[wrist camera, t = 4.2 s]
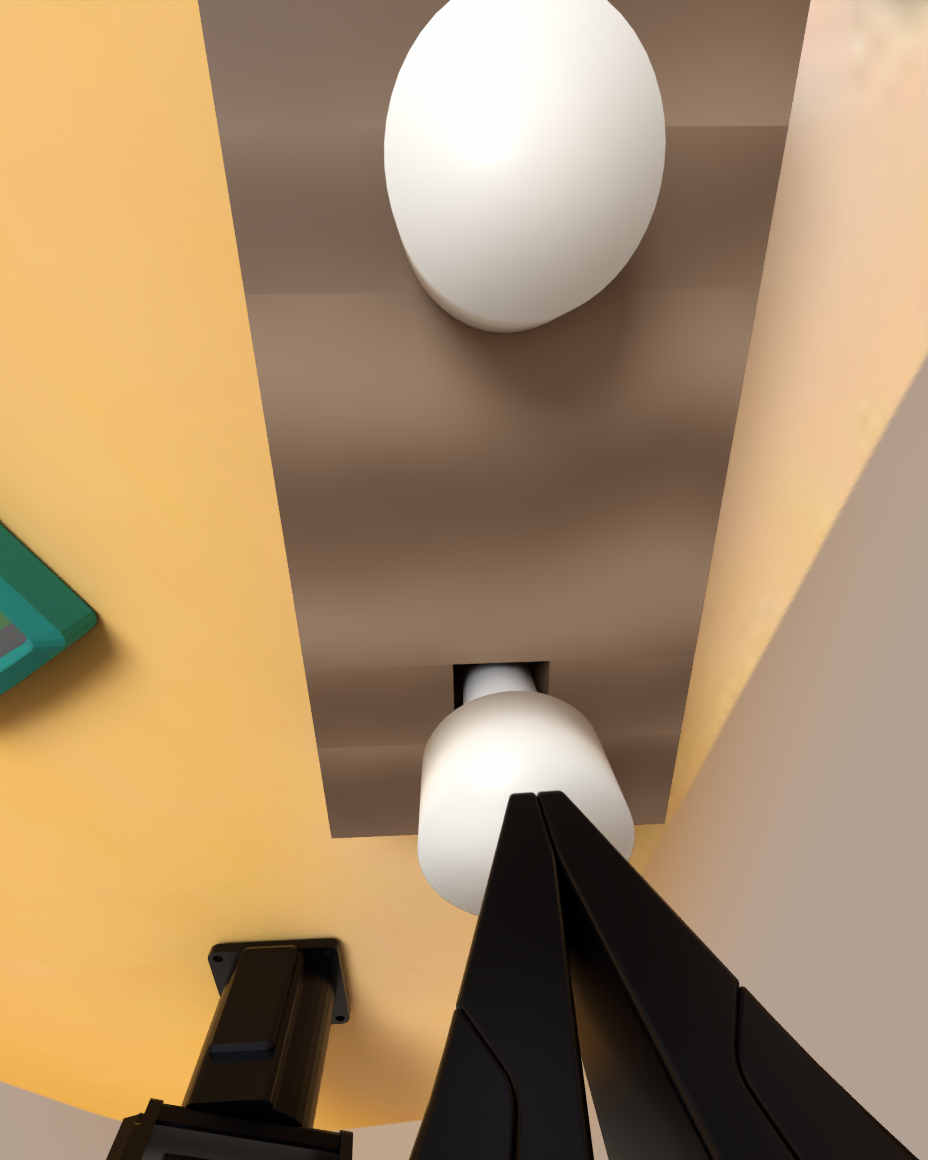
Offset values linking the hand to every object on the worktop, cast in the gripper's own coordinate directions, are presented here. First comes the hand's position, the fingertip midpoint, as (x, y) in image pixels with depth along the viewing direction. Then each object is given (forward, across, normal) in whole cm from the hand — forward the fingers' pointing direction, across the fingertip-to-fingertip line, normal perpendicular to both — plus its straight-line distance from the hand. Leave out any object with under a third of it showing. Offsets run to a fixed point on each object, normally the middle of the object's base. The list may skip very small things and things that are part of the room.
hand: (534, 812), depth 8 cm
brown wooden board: (+11, 0, -4) cm, 12 cm away
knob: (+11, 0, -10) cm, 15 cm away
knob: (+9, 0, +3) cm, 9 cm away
